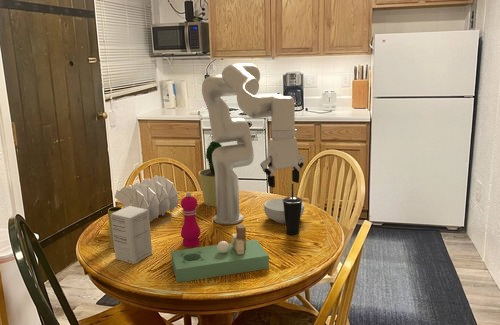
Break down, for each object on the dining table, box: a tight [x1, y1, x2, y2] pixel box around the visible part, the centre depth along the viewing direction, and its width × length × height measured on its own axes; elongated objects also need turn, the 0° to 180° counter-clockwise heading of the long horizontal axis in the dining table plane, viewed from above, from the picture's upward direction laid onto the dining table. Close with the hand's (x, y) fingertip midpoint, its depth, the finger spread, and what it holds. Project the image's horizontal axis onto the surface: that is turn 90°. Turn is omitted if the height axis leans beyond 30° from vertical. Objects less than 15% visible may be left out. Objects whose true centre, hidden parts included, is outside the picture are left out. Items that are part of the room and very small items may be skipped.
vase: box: [107, 206, 123, 249], centre depth 173 cm, size 6×6×14 cm
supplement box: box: [111, 206, 153, 265], centre depth 162 cm, size 10×9×17 cm
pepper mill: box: [180, 192, 202, 248], centre depth 171 cm, size 7×7×20 cm
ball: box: [216, 240, 229, 253], centre depth 155 cm, size 4×4×4 cm
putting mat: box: [170, 239, 270, 284], centre depth 155 cm, size 14×30×4 cm, turn 106°
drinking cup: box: [283, 183, 304, 237], centre depth 179 cm, size 8×8×20 cm
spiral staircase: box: [114, 174, 180, 223], centre depth 199 cm, size 18×18×25 cm
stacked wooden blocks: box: [231, 223, 247, 254], centre depth 156 cm, size 8×3×8 cm, turn 16°
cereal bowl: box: [263, 197, 305, 224], centre depth 195 cm, size 17×17×7 cm
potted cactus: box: [198, 140, 223, 207], centre depth 216 cm, size 15×15×30 cm
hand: (283, 184), depth 158 cm, fingers open, 9 cm apart
